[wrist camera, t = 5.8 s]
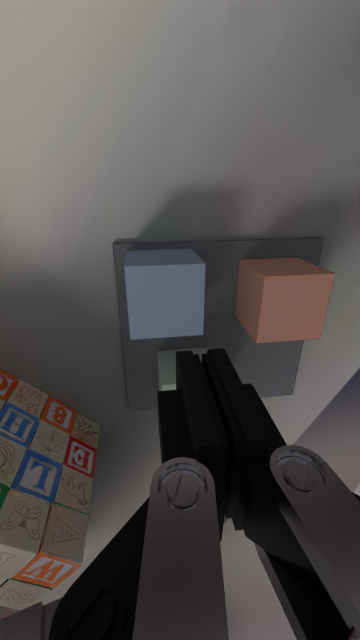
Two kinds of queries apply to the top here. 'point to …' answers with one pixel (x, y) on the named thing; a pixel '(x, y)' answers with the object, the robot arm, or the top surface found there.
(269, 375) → the charcoal mat
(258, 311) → the terracotta cube
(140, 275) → the slate-blue cube
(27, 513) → the stack of blocks
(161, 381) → the sage cube
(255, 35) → the top surface
